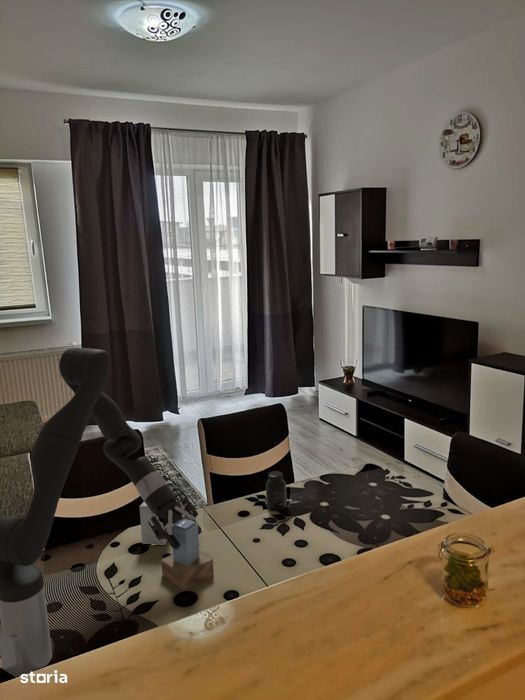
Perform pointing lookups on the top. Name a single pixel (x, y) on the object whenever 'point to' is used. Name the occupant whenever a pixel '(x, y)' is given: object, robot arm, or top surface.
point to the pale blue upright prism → (186, 542)
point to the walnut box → (187, 571)
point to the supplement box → (148, 527)
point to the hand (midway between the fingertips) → (189, 540)
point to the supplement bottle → (276, 491)
